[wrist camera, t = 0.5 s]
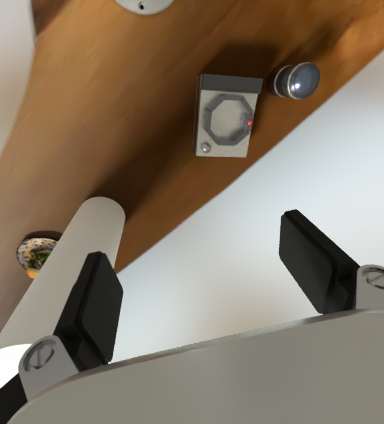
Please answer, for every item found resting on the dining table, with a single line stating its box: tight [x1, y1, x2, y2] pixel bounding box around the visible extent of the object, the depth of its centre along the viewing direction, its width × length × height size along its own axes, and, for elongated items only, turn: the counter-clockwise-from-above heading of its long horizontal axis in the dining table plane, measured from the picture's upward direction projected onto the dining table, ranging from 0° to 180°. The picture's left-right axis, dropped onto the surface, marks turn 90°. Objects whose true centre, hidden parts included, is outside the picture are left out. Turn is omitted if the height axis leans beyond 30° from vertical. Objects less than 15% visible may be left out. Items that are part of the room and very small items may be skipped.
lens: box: [267, 62, 320, 99], centre depth 35 cm, size 5×5×8 cm
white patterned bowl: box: [16, 238, 58, 279], centre depth 47 cm, size 12×12×8 cm
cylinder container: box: [0, 197, 125, 388], centre depth 34 cm, size 9×9×30 cm
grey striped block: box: [192, 74, 263, 157], centre depth 37 cm, size 12×9×7 cm
